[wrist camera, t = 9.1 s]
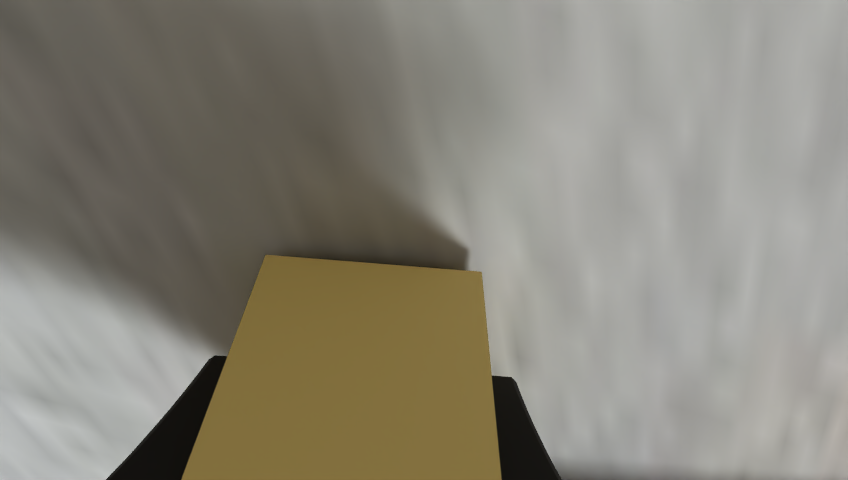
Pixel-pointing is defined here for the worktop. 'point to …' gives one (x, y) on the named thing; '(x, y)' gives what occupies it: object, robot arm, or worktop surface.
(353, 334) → the mustard block
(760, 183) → the worktop surface
